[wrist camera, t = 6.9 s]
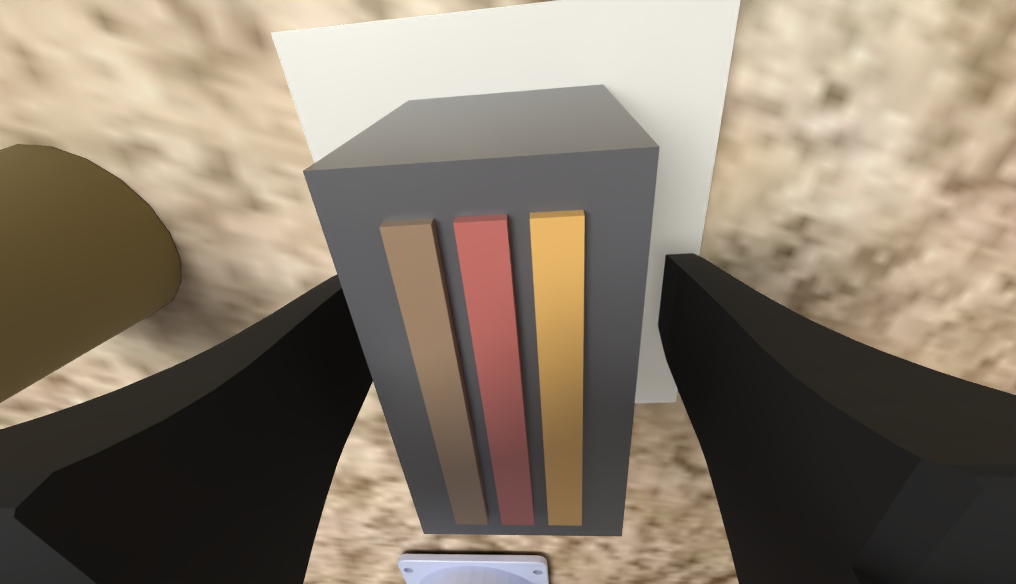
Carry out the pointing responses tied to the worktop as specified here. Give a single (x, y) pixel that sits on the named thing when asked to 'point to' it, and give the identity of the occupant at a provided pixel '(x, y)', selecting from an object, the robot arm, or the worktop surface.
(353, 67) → the header board
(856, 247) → the worktop surface
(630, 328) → the block
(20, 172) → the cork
